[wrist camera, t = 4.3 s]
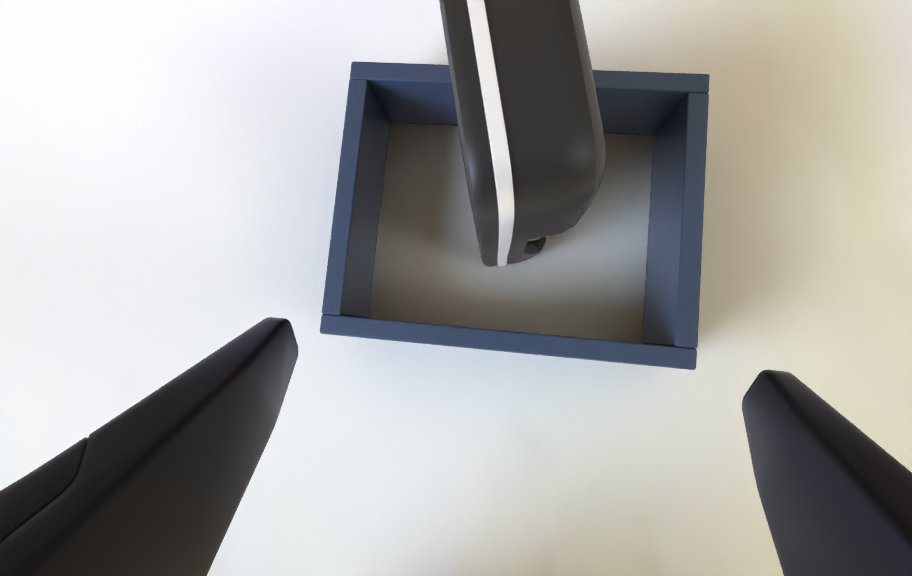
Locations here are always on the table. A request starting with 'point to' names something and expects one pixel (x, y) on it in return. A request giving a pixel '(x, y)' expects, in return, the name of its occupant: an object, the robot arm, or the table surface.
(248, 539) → the table surface
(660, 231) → the box
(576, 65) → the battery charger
